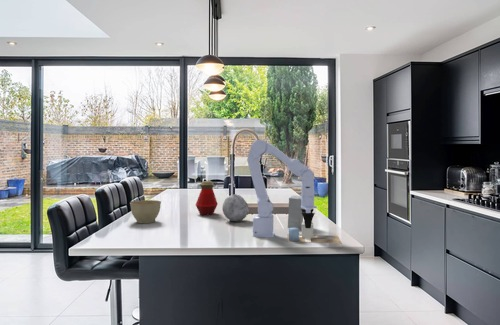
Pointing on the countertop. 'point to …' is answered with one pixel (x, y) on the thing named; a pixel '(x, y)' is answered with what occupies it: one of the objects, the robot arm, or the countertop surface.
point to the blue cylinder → (294, 234)
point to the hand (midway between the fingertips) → (307, 226)
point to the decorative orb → (235, 208)
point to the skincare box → (295, 212)
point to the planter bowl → (145, 210)
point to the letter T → (309, 238)
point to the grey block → (307, 231)
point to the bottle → (206, 199)
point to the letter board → (319, 239)
